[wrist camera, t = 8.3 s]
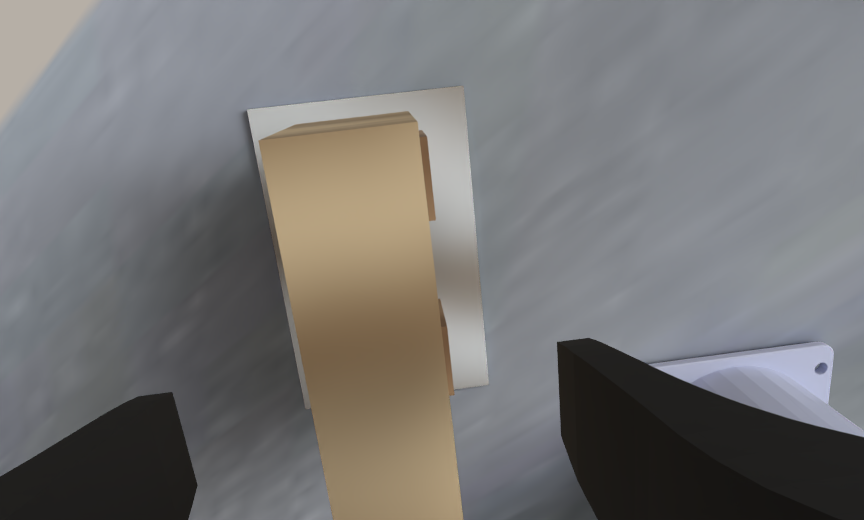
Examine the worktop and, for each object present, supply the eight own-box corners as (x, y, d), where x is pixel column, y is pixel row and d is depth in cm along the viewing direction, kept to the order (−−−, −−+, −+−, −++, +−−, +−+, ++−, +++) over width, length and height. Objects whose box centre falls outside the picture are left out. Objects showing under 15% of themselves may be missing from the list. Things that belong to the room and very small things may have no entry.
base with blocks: (488, 382, 22) (501, 421, 20) (306, 406, 22) (295, 449, 19) (462, 85, 19) (475, 85, 16) (248, 109, 19) (226, 113, 16)
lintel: (444, 415, 19) (463, 524, 15) (349, 429, 19) (338, 542, 14) (408, 111, 16) (417, 122, 12) (295, 124, 16) (257, 140, 11)
